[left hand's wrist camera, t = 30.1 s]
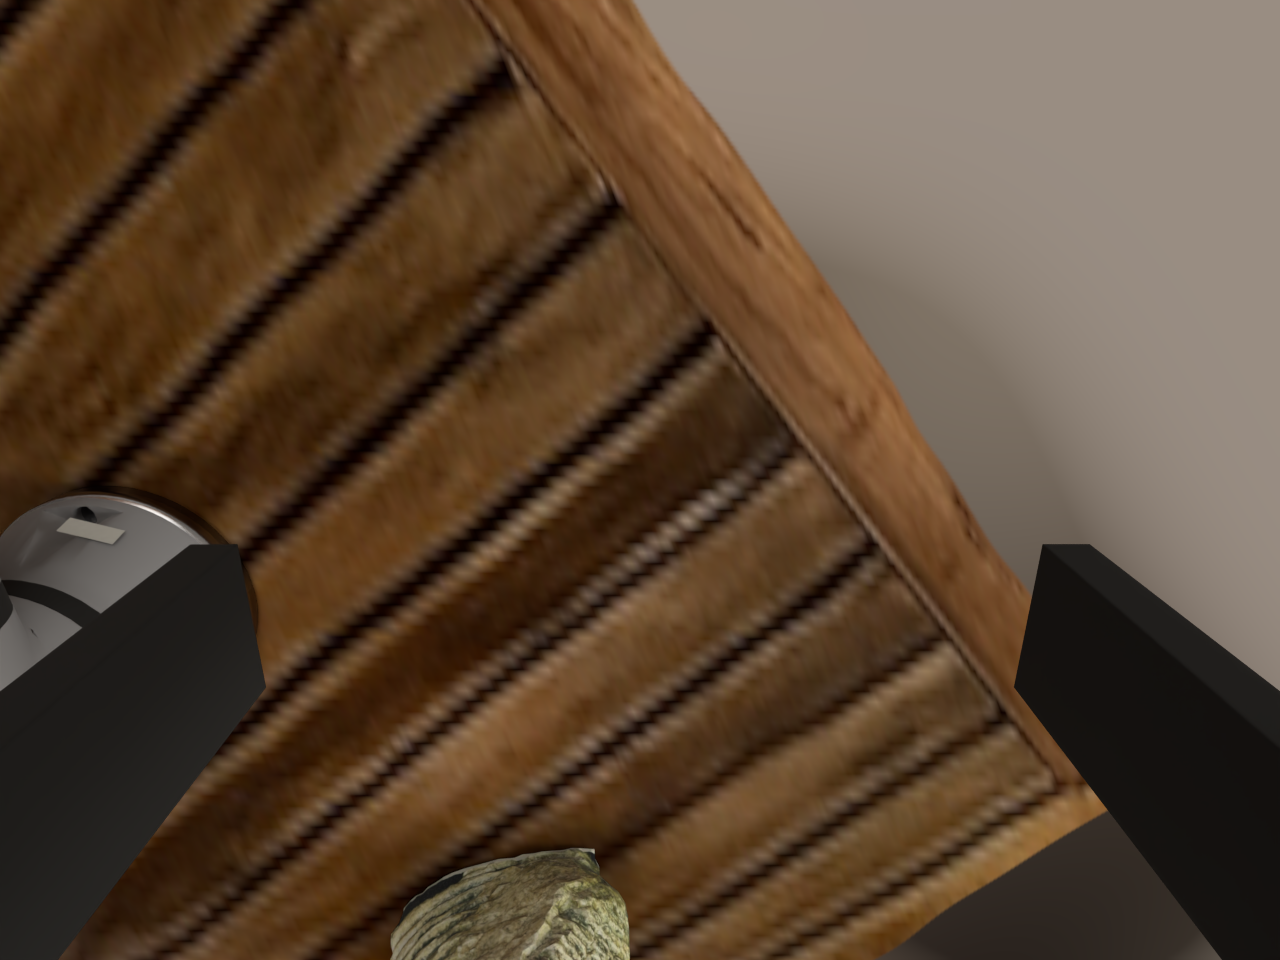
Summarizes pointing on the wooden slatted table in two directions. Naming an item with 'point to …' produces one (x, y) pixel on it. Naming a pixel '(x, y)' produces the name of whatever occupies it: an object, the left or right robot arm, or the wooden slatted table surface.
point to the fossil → (517, 912)
